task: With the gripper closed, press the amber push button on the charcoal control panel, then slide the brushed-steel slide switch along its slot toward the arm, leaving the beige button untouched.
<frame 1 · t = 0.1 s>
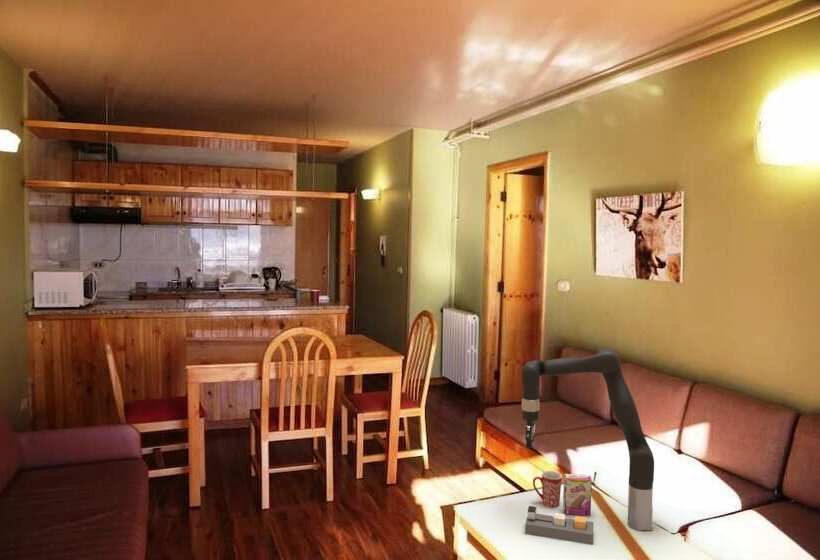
hand: (530, 444, 248), 29 cm above the table, fingers open, 8 cm apart
beige button: (559, 519, 231), point 5 cm above the table, slide at 0.0 cm
mug: (547, 503, 257), on the table
control panel: (559, 532, 232), on the table
candy bar box: (576, 513, 248), on the table
amber button: (580, 522, 229), point 5 cm above the table, slide at 0.0 cm
slide switch: (531, 515, 235), point 5 cm above the table, slide at 0.0 cm
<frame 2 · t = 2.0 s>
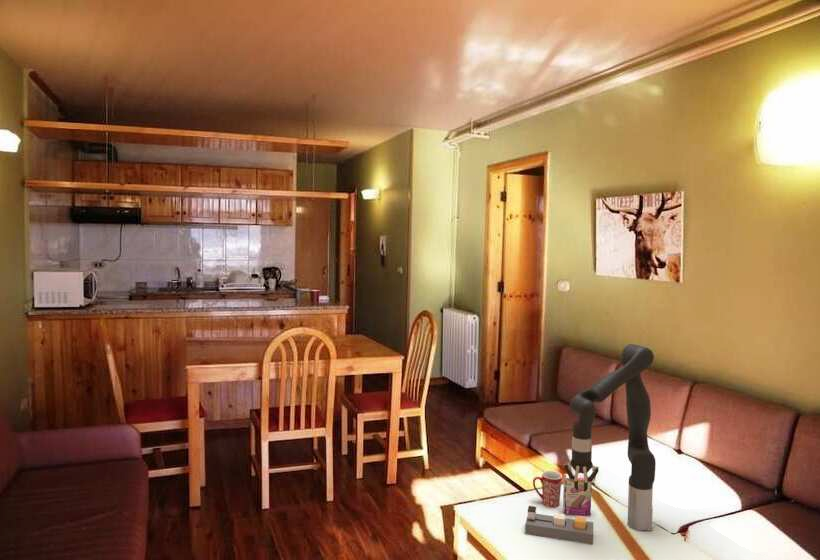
hand: (580, 489, 227), 19 cm above the table, fingers closed
nothing on the table moved.
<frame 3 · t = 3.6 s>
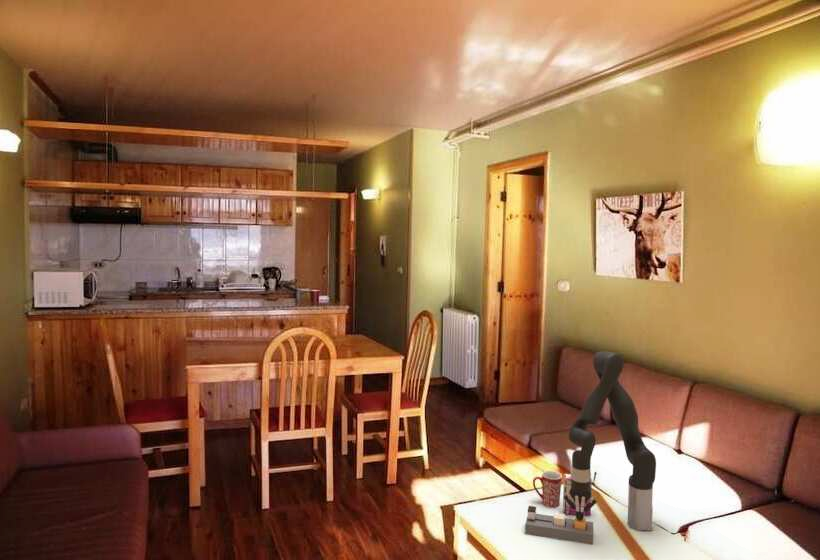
hand: (579, 519, 229), 7 cm above the table, fingers closed
amber button: (580, 523, 229), point 5 cm above the table, slide at 0.2 cm, touching gripper
everything else where it was.
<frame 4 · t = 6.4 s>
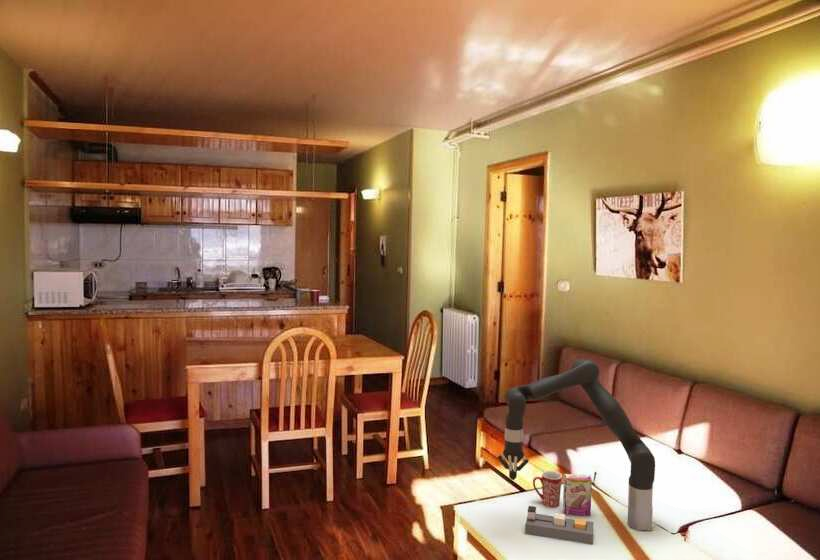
hand: (512, 479, 236), 20 cm above the table, fingers closed
amber button: (580, 525, 229), point 4 cm above the table, slide at 1.1 cm
everything else where it was.
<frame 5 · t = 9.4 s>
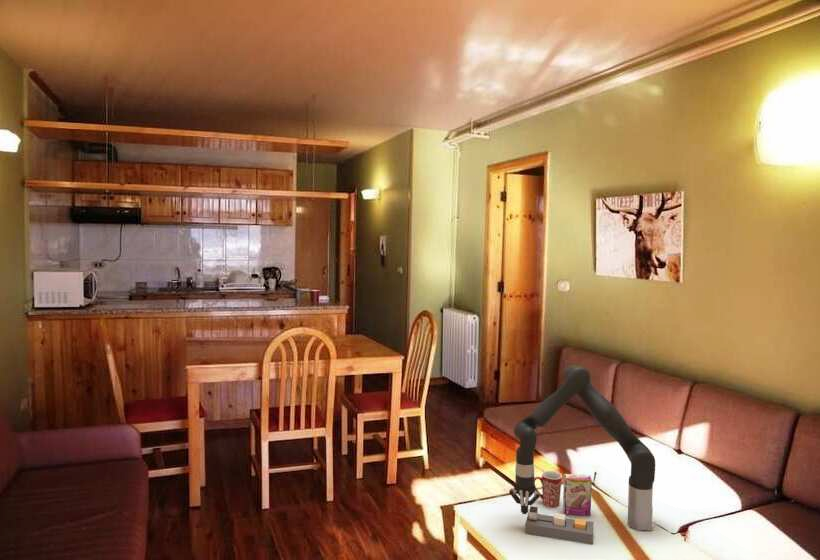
hand: (524, 513, 236), 6 cm above the table, fingers closed
slide switch: (533, 515, 235), point 5 cm above the table, slide at 0.7 cm, touching gripper
everything else where it was.
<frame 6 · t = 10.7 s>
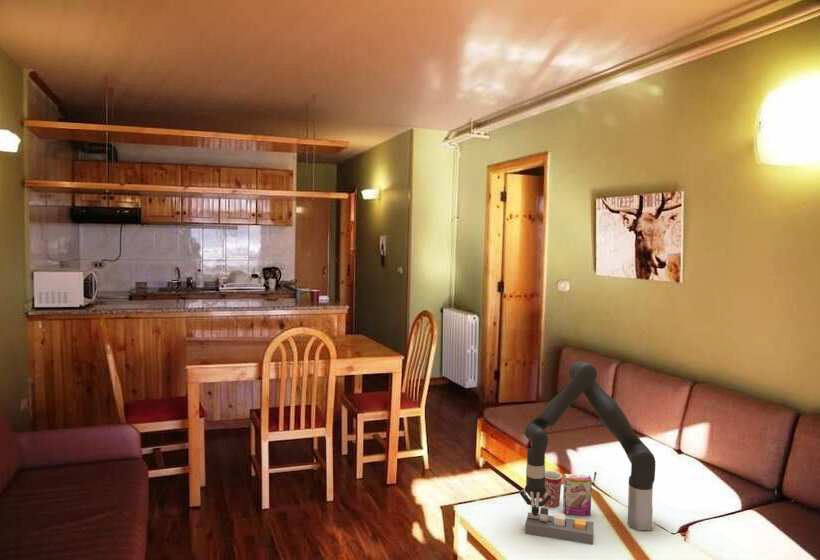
hand: (535, 514, 234), 6 cm above the table, fingers closed
slide switch: (544, 517, 233), point 5 cm above the table, slide at 4.9 cm, touching gripper
everything else where it was.
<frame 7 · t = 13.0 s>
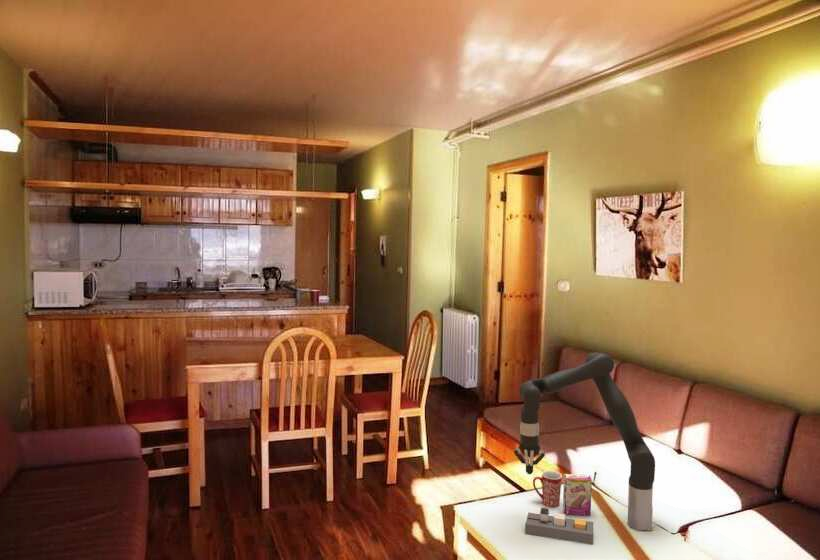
hand: (529, 473, 234), 23 cm above the table, fingers closed
slide switch: (544, 517, 233), point 5 cm above the table, slide at 5.0 cm
everything else where it was.
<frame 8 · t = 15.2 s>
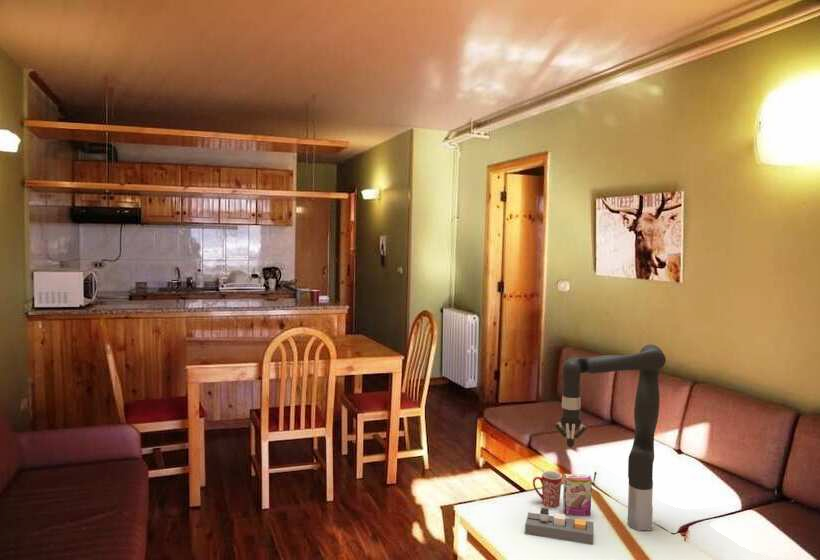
hand: (570, 446, 241), 31 cm above the table, fingers closed
nothing on the table moved.
at the end: amber button slide at 1.1 cm; slide switch slide at 5.0 cm; beige button slide at 0.0 cm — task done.
